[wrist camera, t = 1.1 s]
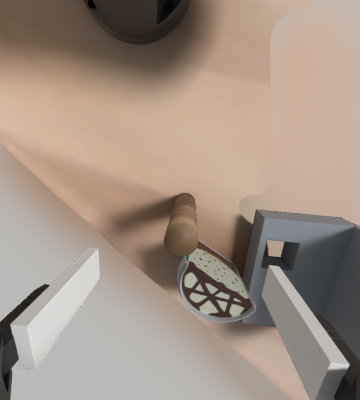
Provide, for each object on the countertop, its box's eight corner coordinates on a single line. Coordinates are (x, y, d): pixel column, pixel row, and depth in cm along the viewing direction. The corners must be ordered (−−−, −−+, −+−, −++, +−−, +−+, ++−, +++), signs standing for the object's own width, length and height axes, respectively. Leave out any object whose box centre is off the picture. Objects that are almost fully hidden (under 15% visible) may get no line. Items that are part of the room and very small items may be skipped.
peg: (176, 192, 32) (165, 224, 18) (196, 193, 32) (199, 227, 18) (174, 211, 33) (163, 254, 19) (194, 212, 33) (196, 258, 19)
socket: (256, 209, 32) (317, 267, 16) (340, 217, 31) (488, 285, 16) (236, 305, 37) (269, 418, 22) (308, 313, 37) (395, 435, 21)
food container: (167, 255, 35) (157, 295, 26) (186, 230, 34) (183, 264, 24) (219, 289, 37) (229, 339, 27) (240, 267, 35) (259, 312, 25)
